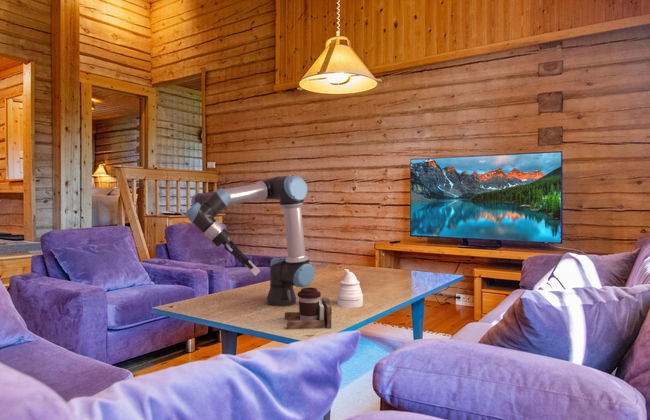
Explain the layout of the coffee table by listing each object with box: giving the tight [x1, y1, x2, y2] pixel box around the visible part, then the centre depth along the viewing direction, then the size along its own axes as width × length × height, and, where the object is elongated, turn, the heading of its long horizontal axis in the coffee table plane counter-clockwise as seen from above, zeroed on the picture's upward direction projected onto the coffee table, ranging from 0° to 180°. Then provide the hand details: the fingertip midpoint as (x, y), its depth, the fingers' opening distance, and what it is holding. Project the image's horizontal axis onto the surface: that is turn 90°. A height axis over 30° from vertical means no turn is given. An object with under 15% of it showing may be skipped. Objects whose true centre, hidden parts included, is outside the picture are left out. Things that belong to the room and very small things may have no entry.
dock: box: [284, 297, 333, 330], centre depth 199 cm, size 19×17×10 cm
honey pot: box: [337, 268, 364, 309], centre depth 234 cm, size 13×13×18 cm
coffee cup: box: [297, 287, 322, 321], centre depth 199 cm, size 10×10×15 cm
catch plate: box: [318, 299, 324, 320], centre depth 200 cm, size 2×12×8 cm, turn 9°
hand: (257, 273), depth 196 cm, fingers closed
